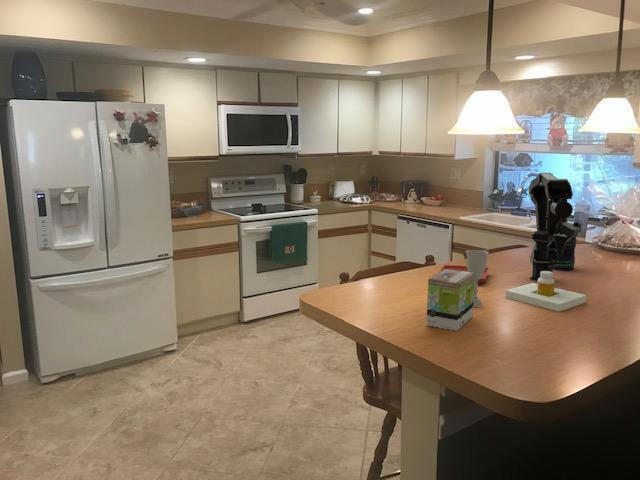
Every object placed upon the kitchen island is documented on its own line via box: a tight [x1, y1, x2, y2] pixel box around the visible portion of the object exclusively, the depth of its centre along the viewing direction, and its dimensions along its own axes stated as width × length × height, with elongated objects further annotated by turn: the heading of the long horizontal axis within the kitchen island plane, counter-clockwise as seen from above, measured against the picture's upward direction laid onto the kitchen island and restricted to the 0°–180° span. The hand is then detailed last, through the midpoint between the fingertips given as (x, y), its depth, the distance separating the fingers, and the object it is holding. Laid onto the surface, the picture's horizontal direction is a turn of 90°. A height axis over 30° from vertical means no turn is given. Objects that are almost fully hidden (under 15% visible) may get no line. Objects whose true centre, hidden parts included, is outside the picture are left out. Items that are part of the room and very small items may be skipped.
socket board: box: [504, 282, 587, 313], centre depth 184 cm, size 20×16×2 cm
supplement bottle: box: [536, 271, 555, 297], centre depth 183 cm, size 5×5×10 cm
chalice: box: [465, 249, 489, 308], centre depth 178 cm, size 7×7×18 cm
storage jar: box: [552, 237, 577, 272], centre depth 225 cm, size 10×10×15 cm
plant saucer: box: [438, 264, 490, 285], centre depth 213 cm, size 18×18×3 cm
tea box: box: [425, 269, 475, 332], centre depth 163 cm, size 15×10×15 cm
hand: (552, 257), depth 194 cm, fingers open, 9 cm apart
